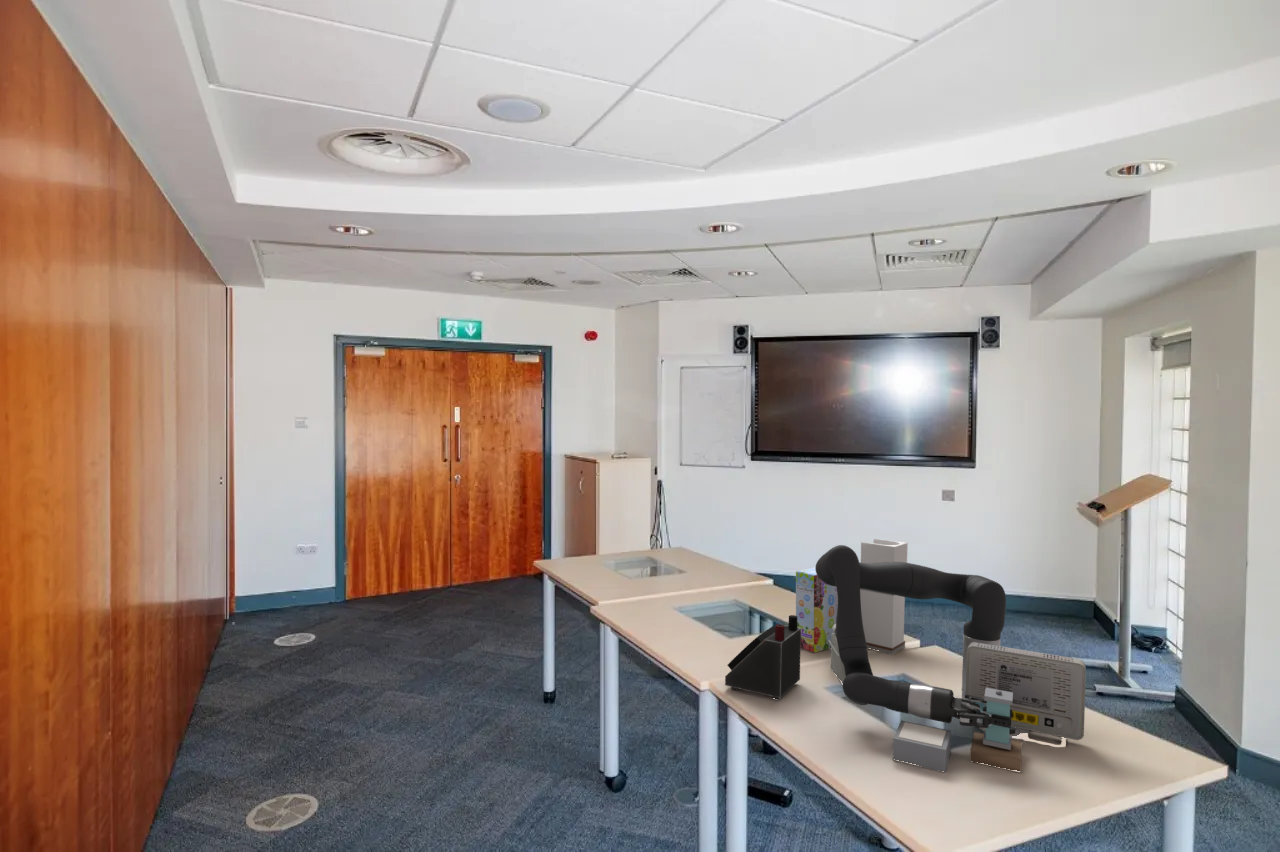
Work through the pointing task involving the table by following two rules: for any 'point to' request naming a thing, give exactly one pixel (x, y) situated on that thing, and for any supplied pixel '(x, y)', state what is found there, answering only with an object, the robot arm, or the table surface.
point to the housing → (1000, 706)
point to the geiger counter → (836, 656)
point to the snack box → (815, 610)
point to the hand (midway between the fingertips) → (1011, 718)
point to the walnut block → (996, 753)
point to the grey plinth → (922, 745)
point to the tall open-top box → (883, 600)
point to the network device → (1031, 687)
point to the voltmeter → (768, 662)
